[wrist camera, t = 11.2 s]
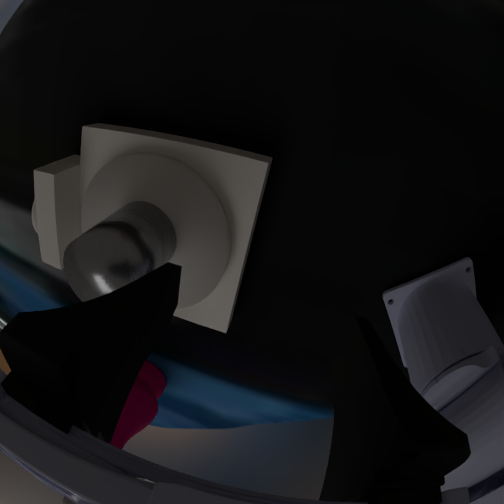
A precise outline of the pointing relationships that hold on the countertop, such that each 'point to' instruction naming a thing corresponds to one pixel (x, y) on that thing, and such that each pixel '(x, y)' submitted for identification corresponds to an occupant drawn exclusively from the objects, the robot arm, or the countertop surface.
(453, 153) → the countertop surface
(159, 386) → the pepper mill
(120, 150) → the scale
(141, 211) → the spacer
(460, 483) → the robot arm
